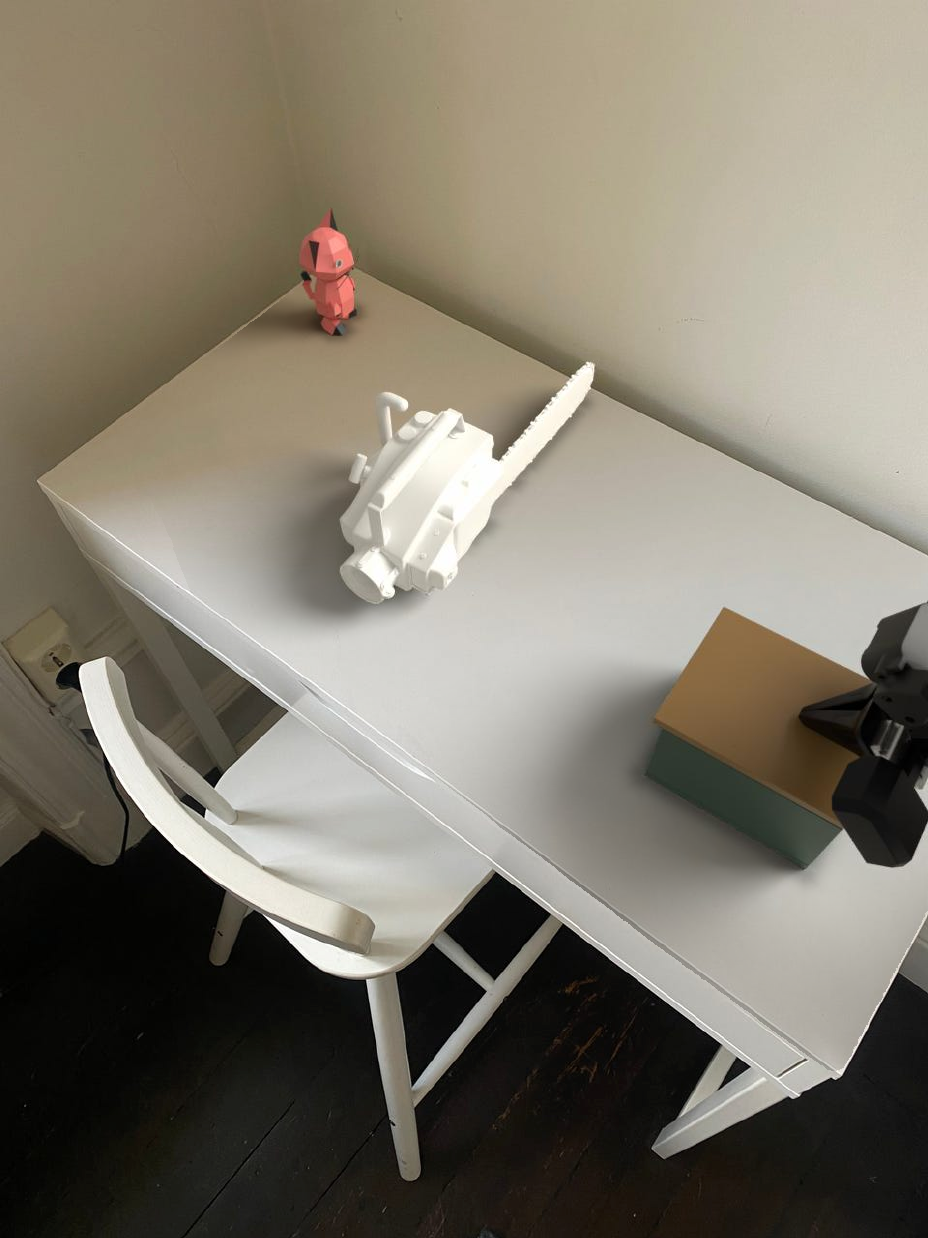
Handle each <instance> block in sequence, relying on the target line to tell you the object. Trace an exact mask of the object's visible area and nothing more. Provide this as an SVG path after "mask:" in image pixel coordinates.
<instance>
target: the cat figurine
mask: <svg viewBox="0 0 928 1238" xmlns="http://www.w3.org/2000/svg"><path fill="white" fill-rule="evenodd" d="M337 226H338V225H337V223H336V220H335V216H334V212H333V209H332V207H329V209H328V211H327V212H326V213H325V215H324V217H323V218H322V219H321V221H320V223H319V224H318V226H317V227H316V228H315V229H314V230H313V231H312V232H310V233H309V234H307V235H306V236H305V237H303V238H302V241H301V244H300V248H299V260H298V263H299V265H300V266H301V267H302V268H303V269H304V270H302V271H301V272H300V274H299V275H300V277H301V278H302V280H303V281H302V284H301V286H302V287H303V289H304V291H305V293H306V295H307V297H308V298H309V299H310V300H313V301H314V303H315V304H314V305H315V309H316V312H317V313H316V314H318V315H321V316H323V317H322V319H321V322H320V325H321V327H322V329H323V330H325V332H327V333H328V334H330V335H331V336H344V335H345V334H346V333H347V332H348V330H347V327H346V326H345V324H344V323H343V322H342V320H341V319H345V320H346V319H351V318H353V317H355V316H357V315H358V310H357V309H356V308H355V297H354V296H355V294H354V292H355V291H356V286H355V281H354V278H352V277H349V276H350V274H351V273H352V271H353V270H354V269H355V267H356V266H355V267H354V265H355V263H358V260H359V257H360V255H358V254H360V253H359V252H358V251H359V248H357V250H356V252H357V253H356V255H355V258H356V260H355V262H354V257H353V252H352V250H351V246H350V245H351V242H350V241H349V242H348V241H347V239H346V237H345V235H344V234H342V233H341V232H339V230H338V227H337ZM357 255H358V256H357ZM351 270H352V271H351ZM309 274H310V275H312V276H313V277H315V278H316V279H315V284H314V291H313V290H312V286H311V283H312V281H313V280H312V277H311V276H310V275H309Z"/></svg>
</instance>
